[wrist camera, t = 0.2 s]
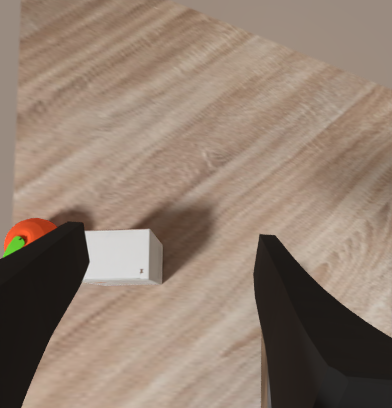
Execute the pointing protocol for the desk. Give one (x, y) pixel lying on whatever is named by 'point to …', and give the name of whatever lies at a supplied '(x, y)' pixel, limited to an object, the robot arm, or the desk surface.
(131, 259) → the small box
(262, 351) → the gate leaf
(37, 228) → the clementine
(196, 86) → the desk surface
